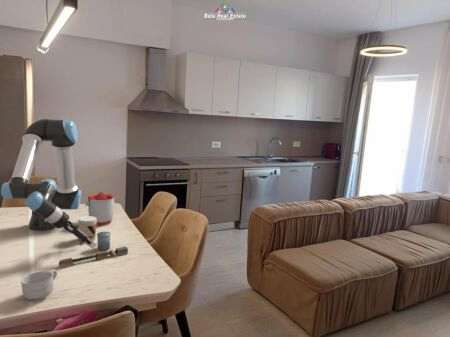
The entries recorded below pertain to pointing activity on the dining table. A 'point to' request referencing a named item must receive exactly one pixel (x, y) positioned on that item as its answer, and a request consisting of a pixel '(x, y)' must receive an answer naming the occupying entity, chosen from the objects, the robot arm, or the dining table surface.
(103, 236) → the dome-topped knob
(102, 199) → the citrus juicer
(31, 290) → the teacup
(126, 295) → the dining table surface
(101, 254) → the cord rig
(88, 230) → the coffee cup
